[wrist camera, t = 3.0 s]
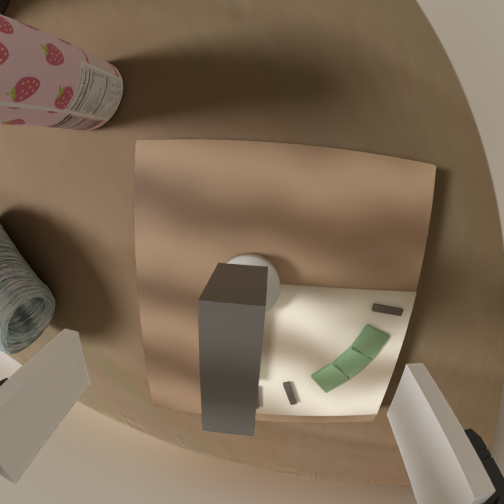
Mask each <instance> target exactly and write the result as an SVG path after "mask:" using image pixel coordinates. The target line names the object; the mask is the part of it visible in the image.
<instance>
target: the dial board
mask: <svg viewBox="0 0 504 504" xmlns="http://www.w3.org/2000/svg"><path fill="white" fill-rule="evenodd" d="M435 174H436V165H432V164H428V163H423V162H418V161H413V160H408V159H402V158H397V157H391V156H385V155H379V154H373V153H366V152H359V151H352V150H345V149H337V148H329V147H320V146H310V145H300V144H289V143H276V142H261V141H242V140H209V139H168V140H136V146H135V175H134V225H135V254H136V272H137V286H138V299H139V310H140V320H141V329H142V337H143V346H144V353H145V360H146V367H147V374H148V380H149V386H150V392H151V398H152V403H153V406H158V407H163V408H168V409H173V410H179V411H185V412H191V413H198V414H202V410H201V391H200V367H199V332H198V299H199V297H200V296H201V294H202V292H203V290H204V288H205V286H206V284H207V283H208V281H209V279H210V277H211V275H212V273H213V272H214V270H215V268H216V266H217V264H218V263H226V262H227V261H228V260H229V259H231V258H232V257H234V256H236V255H239V254H243V253H253V254H258V255H261V256H263V257H265V258H267V259H268V260H269V261H270V262H271V263H272V264H273V265H274V266H275V268H276V269H277V271H278V274H279V278H280V294H279V297H278V300H277V302H276V303H275V305H274V306H273V307H272V308H271V309H270V310H269V311H267V312H266V313H265V322H264V333H263V344H262V355H261V365H260V376H259V386H258V396H257V406H256V416H255V420H261V421H278V422H308V423H331V422H361V421H373V420H374V418H375V416H376V414H377V412H378V410H379V407H380V405H381V402H382V400H383V397H384V395H385V392H386V390H387V387H388V384H389V382H390V379H391V376H392V373H393V371H394V368H395V365H396V362H397V359H398V356H399V353H400V350H401V347H402V343H403V340H404V337H405V334H406V330H407V327H408V323H409V320H410V316H411V312H412V309H413V305H414V301H415V297H416V293H417V292H416V290H417V286H418V282H419V277H420V273H421V268H422V263H423V258H424V253H425V247H426V242H427V236H428V230H429V224H430V217H431V210H432V202H433V194H434V184H435Z"/></svg>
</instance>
